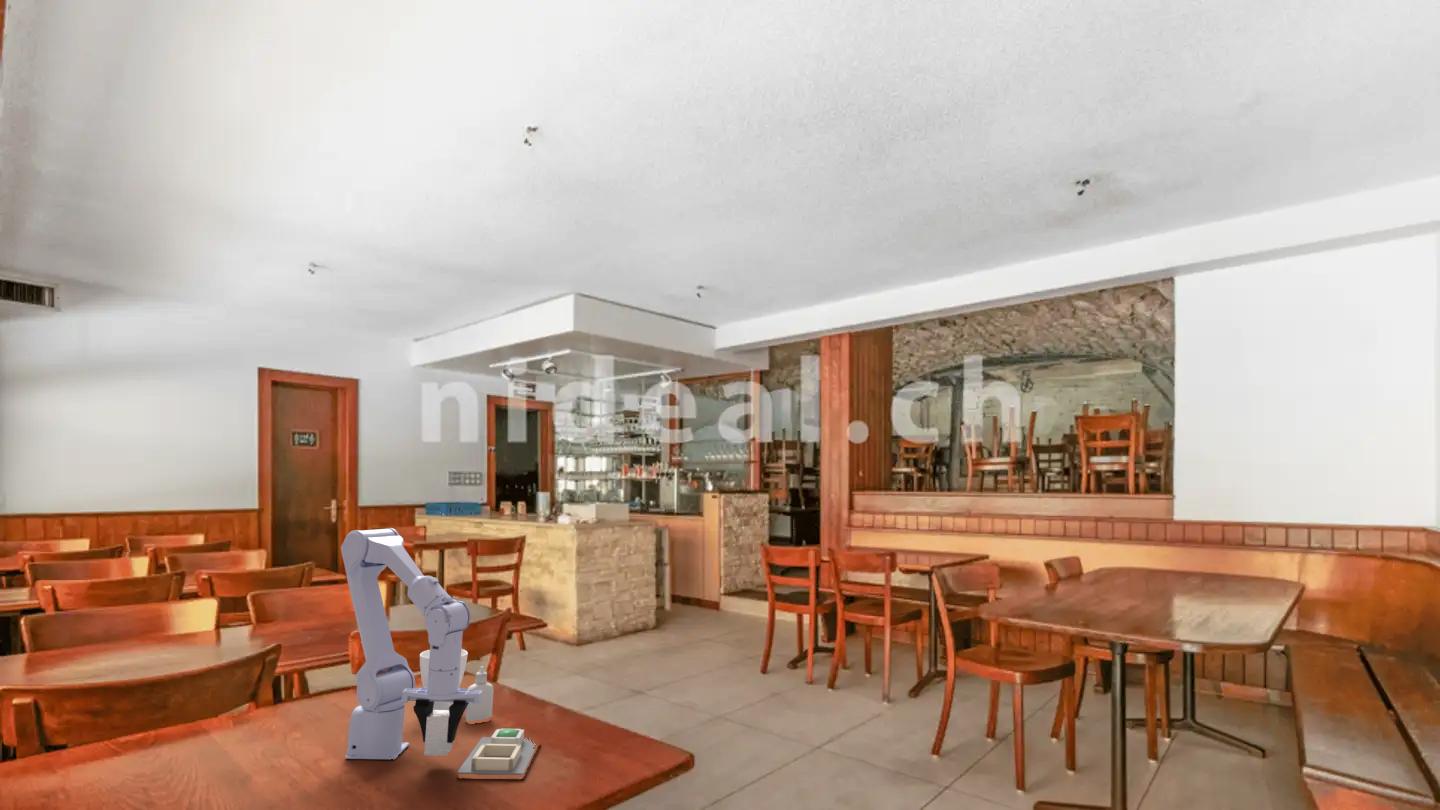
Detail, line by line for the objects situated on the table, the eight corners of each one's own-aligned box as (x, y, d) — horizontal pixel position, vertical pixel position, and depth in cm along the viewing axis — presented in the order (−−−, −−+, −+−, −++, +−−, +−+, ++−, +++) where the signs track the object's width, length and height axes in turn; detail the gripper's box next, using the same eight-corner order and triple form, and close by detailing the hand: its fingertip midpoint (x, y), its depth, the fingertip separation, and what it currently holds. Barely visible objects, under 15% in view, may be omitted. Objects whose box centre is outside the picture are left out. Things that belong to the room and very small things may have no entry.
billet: (424, 755, 140) (426, 716, 140) (430, 747, 144) (433, 709, 144) (445, 755, 140) (448, 717, 140) (452, 747, 144) (454, 710, 144)
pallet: (456, 779, 137) (458, 759, 137) (481, 743, 155) (482, 726, 155) (523, 780, 137) (524, 761, 138) (540, 744, 155) (541, 727, 156)
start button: (497, 746, 149) (498, 733, 150) (501, 740, 153) (501, 728, 153) (513, 746, 150) (514, 734, 150) (516, 740, 153) (517, 728, 153)
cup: (405, 715, 170) (409, 654, 171) (441, 703, 179) (445, 645, 180) (437, 724, 165) (442, 661, 166) (473, 711, 174) (477, 652, 175)
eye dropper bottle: (468, 718, 169) (471, 663, 170) (493, 718, 170) (496, 664, 171) (463, 724, 165) (466, 669, 166) (488, 725, 165) (492, 669, 166)
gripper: (488, 663, 147) (483, 734, 146) (413, 660, 147) (407, 732, 145) (478, 672, 140) (473, 747, 139) (400, 670, 140) (394, 745, 138)
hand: (439, 740), depth 142 cm, fingers closed on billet, 4 cm apart
